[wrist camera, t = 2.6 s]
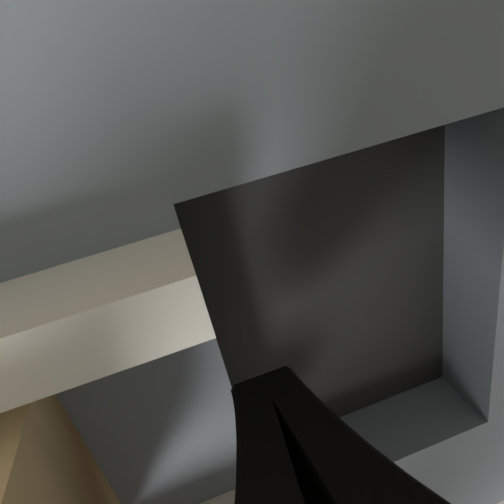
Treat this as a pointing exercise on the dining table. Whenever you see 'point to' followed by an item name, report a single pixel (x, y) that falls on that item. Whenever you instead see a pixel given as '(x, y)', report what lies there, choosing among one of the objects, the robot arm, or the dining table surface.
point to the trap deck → (255, 228)
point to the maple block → (48, 459)
